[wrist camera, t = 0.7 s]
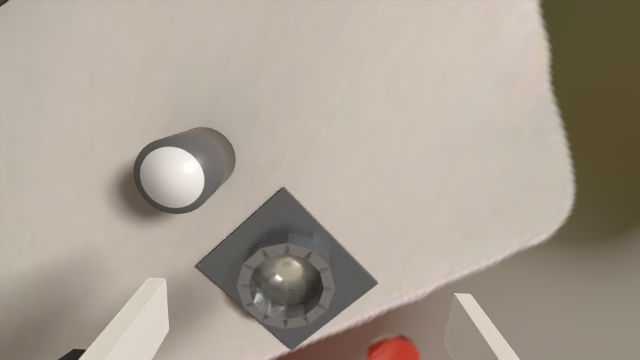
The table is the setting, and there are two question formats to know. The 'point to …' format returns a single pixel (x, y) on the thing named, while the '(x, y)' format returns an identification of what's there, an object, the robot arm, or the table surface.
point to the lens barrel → (184, 169)
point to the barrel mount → (287, 270)
